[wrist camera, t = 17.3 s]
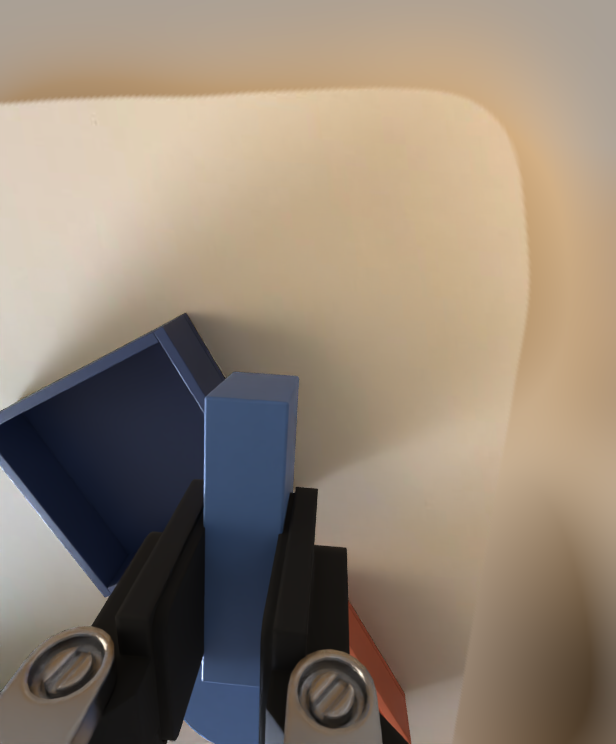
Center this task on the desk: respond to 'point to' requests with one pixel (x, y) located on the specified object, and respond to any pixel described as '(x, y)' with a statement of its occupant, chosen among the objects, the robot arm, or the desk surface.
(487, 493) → the desk surface
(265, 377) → the blue spoon
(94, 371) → the blue bin
